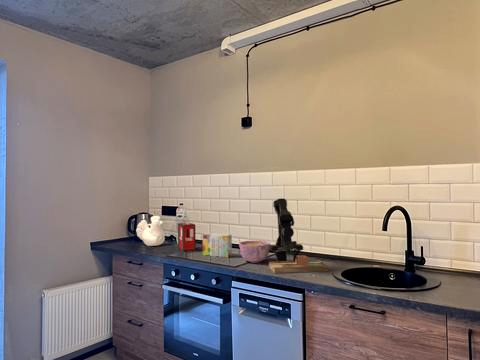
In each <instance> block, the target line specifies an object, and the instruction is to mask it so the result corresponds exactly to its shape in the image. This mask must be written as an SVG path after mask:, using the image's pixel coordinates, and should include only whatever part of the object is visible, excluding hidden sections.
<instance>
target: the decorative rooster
mask: <svg viewBox="0 0 480 360" xmlns="http://www.w3.org/2000/svg"><path fill="white" fill-rule="evenodd" d="M150 221H151V223H148V222H147V220H145V219H142V220H141V221H140V222H139V223H138V224H137V226H136V227H137V228H136V229H135V231H136V235H137V237H138V238H139V239H140V240H142V242H143V243H144V244H145V245H146V246H147V247H154V246H155V247H156V246H161V245H162V244H163V243H164V242H165V239H166V237H165V232H164V230H163V225H164V224H163V223H164V221H162V219H161V216H160V215H159V216H158V215H154V216H151V217H150ZM149 226H150V227H149Z"/></svg>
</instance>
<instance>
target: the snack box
mask: <svg viewBox="0 0 480 360" xmlns="http://www.w3.org/2000/svg"><path fill="white" fill-rule="evenodd" d="M232 237H233V234H229V233H228V234H226V233H223V234H222V233H212V232H211V233H210V232H209V233H207V232H206V233H202V256H206V255H210V256H209V257H216V256H219V258H225V257H226V258H227V259H228V258H233V257H232V254H233V253H232V252H233V251H232V249H233V248H232V245H233V243H232V241H233V240H232V239H233V238H232Z"/></svg>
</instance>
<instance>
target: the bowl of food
mask: <svg viewBox="0 0 480 360" xmlns="http://www.w3.org/2000/svg"><path fill="white" fill-rule="evenodd" d="M238 244H239V245H238V246H239V249H240V253H241V257H242V258H243V259H244V260H246V262H247V261H248V263H250V264H251V263H252V264H253V263H254V264H258V263H262V261H264V260H266V259H267V258H268V256H269V252H270V249H269V246H270V245H271V242H270V241H266V240H245V241H241V242H238Z"/></svg>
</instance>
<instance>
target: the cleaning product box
mask: <svg viewBox="0 0 480 360" xmlns="http://www.w3.org/2000/svg"><path fill="white" fill-rule="evenodd" d="M196 239H197V237H196V224H195V223H191V222H180V223H179V222H178V223H177V249H178V250H179V249H180V250H182V251H183V252H187V251H196V246H197V245H196V241H197V240H196ZM180 250H179V251H180ZM182 251H181V252H182ZM183 252H182V253H183ZM196 252H197V251H196ZM187 253H188V252H187Z"/></svg>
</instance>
